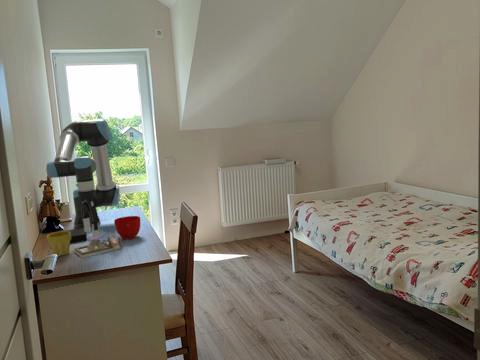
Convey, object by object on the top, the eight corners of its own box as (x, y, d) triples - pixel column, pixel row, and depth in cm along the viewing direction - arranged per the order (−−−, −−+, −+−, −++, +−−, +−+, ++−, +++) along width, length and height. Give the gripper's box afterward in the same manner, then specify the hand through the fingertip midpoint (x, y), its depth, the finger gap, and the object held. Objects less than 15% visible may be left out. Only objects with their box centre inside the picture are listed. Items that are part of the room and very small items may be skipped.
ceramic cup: (116, 244, 219) (114, 224, 217) (116, 236, 235) (114, 218, 234) (143, 240, 222) (141, 221, 221) (141, 233, 238) (139, 214, 237)
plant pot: (49, 259, 203) (46, 238, 201) (49, 253, 212) (46, 233, 211) (73, 254, 207) (71, 234, 205) (72, 249, 216) (69, 229, 215)
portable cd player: (53, 239, 241) (52, 232, 240) (86, 234, 247) (85, 227, 246) (51, 247, 225) (50, 239, 225) (87, 241, 231) (86, 233, 231)
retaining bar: (107, 240, 215) (106, 236, 215) (114, 239, 217) (113, 235, 216) (112, 247, 202) (111, 243, 202) (119, 246, 204) (119, 242, 203)
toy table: (95, 245, 217) (94, 233, 216) (110, 245, 214) (109, 233, 213) (81, 251, 208) (80, 239, 207) (97, 251, 205) (96, 239, 204)
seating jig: (74, 251, 211) (72, 240, 211) (113, 243, 222) (112, 232, 221) (81, 257, 201) (80, 245, 200) (122, 248, 211) (121, 236, 211)
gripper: (71, 188, 215) (76, 230, 218) (85, 194, 195) (91, 241, 198) (86, 186, 219) (92, 227, 222) (102, 191, 199) (108, 237, 202)
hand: (92, 234), depth 210 cm, fingers open, 13 cm apart
